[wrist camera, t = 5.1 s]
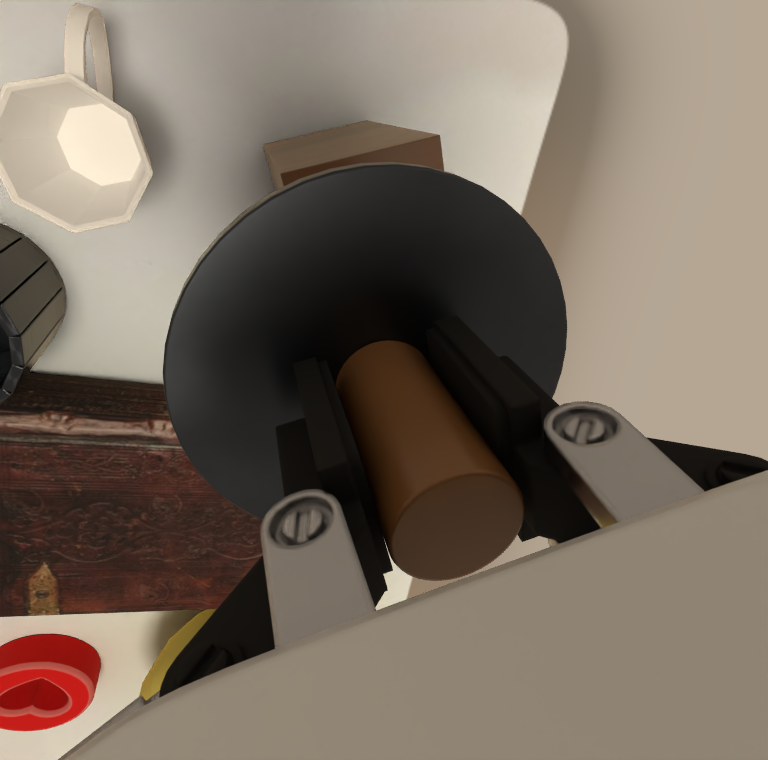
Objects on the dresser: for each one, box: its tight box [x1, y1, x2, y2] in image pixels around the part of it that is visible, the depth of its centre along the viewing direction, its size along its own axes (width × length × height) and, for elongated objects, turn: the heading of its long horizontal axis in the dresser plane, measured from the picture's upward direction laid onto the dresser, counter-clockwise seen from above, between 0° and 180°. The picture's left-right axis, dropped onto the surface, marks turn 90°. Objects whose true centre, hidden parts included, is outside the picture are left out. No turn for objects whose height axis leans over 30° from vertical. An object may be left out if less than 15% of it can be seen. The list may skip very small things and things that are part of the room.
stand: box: [263, 121, 444, 191], centre depth 29 cm, size 7×7×14 cm
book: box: [0, 373, 263, 617], centre depth 41 cm, size 29×19×5 cm, turn 75°
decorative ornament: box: [0, 634, 101, 731], centre depth 48 cm, size 10×10×3 cm
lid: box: [163, 162, 567, 581], centre depth 11 cm, size 10×10×6 cm
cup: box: [0, 3, 153, 233], centre depth 27 cm, size 7×10×8 cm
